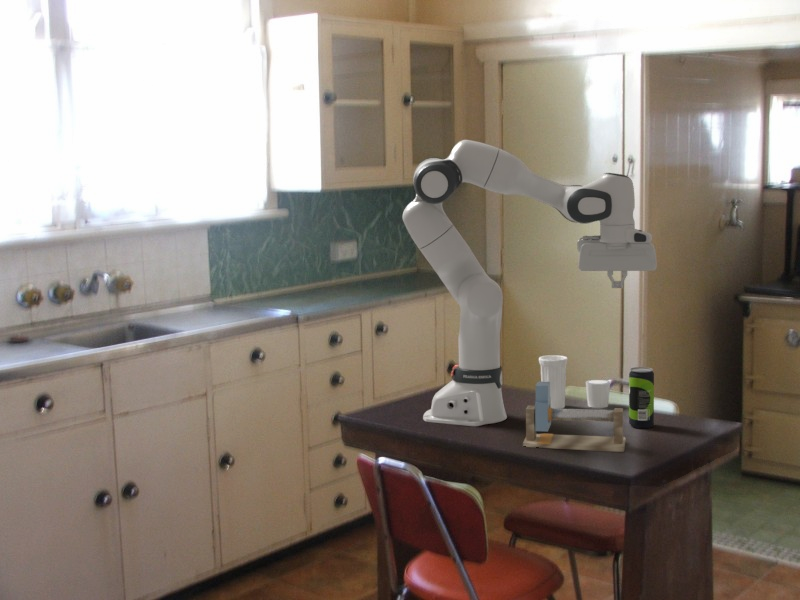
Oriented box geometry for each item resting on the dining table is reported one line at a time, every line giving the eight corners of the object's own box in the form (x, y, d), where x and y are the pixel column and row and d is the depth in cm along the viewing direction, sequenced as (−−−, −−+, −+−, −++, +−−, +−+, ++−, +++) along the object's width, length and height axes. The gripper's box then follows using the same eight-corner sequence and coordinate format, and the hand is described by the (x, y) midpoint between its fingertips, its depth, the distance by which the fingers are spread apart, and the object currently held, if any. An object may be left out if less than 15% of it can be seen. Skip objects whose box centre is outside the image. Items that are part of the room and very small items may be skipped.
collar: (535, 431, 258) (534, 386, 257) (538, 424, 265) (538, 380, 263) (547, 431, 257) (547, 386, 256) (550, 424, 264) (550, 380, 263)
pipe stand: (522, 447, 258) (522, 411, 257) (527, 438, 267) (527, 402, 266) (623, 451, 252) (623, 414, 251) (625, 441, 261) (625, 405, 260)
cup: (544, 403, 304) (543, 354, 302) (571, 405, 300) (571, 356, 298) (535, 410, 297) (534, 359, 295) (563, 412, 293) (562, 361, 291)
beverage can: (658, 425, 276) (658, 368, 274) (645, 430, 271) (645, 372, 270) (637, 422, 280) (637, 365, 278) (624, 426, 276) (624, 369, 274)
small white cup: (582, 403, 302) (582, 379, 302) (606, 402, 303) (606, 378, 302) (589, 409, 296) (589, 384, 295) (613, 408, 296) (613, 383, 295)
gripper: (576, 236, 278) (576, 289, 279) (656, 235, 273) (656, 289, 274) (578, 234, 284) (578, 286, 285) (657, 234, 279) (656, 286, 280)
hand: (617, 288), depth 280 cm, fingers closed
